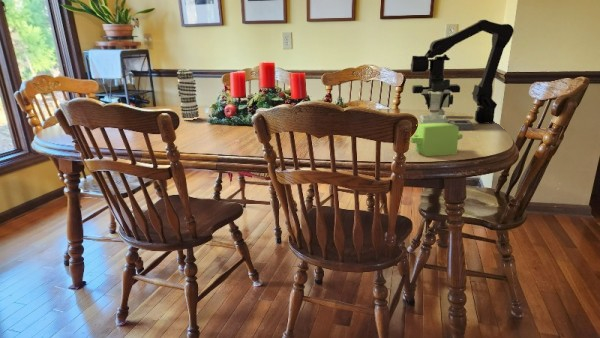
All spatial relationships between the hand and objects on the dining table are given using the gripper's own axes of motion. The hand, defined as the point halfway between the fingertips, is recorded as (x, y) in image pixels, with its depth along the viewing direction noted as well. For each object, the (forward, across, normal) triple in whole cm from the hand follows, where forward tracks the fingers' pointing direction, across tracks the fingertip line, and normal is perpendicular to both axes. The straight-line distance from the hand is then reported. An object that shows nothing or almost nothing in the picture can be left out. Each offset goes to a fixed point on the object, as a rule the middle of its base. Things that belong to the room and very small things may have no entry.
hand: (434, 109), depth 175 cm
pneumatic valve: (+6, +4, +14) cm, 16 cm away
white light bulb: (+5, 0, 0) cm, 5 cm away
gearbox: (+6, -5, -45) cm, 46 cm away
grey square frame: (+6, +9, -10) cm, 15 cm away
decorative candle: (+6, -118, +16) cm, 119 cm away
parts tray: (+6, 0, 0) cm, 6 cm away
